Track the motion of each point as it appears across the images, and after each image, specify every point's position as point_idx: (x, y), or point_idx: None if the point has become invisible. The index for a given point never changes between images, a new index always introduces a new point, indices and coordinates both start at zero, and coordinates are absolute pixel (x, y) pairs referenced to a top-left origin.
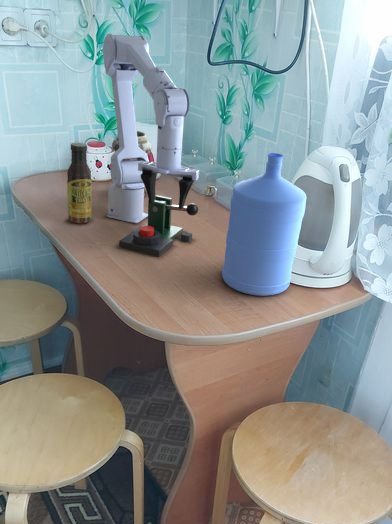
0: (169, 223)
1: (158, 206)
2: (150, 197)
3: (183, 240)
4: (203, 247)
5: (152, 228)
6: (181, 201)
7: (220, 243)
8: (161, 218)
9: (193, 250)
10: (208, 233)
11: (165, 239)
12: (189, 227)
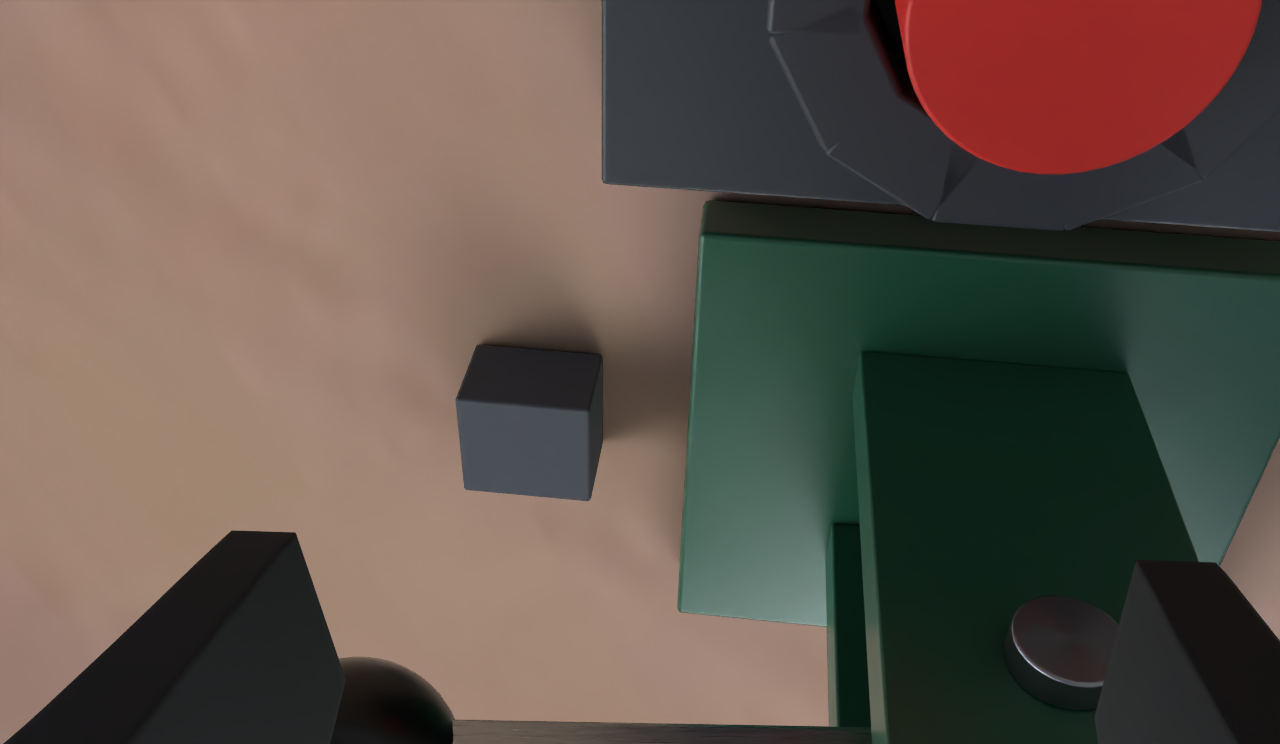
0: (831, 589)
1: (1010, 709)
2: (1235, 693)
3: (551, 354)
4: (237, 286)
5: (944, 72)
6: (93, 684)
7: (151, 469)
8: (908, 526)
9: (286, 135)
10: (410, 639)
11: (714, 137)
12: (667, 696)
